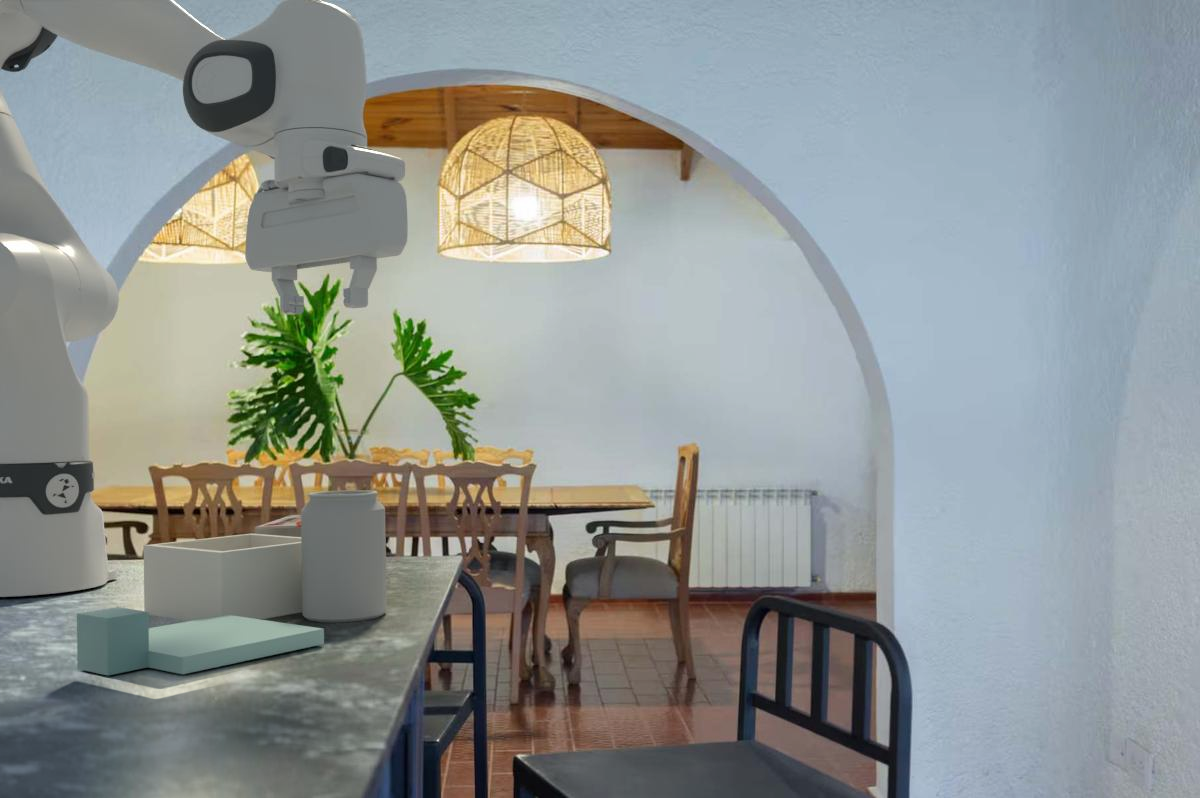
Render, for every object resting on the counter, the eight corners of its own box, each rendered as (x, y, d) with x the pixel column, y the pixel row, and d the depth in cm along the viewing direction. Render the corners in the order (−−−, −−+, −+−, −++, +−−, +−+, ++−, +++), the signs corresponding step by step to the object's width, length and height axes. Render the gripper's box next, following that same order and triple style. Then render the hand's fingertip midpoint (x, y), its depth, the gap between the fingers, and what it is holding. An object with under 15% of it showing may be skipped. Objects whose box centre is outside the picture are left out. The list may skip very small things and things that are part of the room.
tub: (144, 620, 109) (143, 545, 109) (252, 602, 118) (251, 533, 118) (221, 633, 102) (220, 552, 102) (330, 612, 111) (329, 539, 111)
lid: (47, 675, 87) (46, 608, 87) (227, 640, 99) (226, 581, 100) (142, 697, 79) (141, 624, 79) (324, 656, 92) (323, 593, 92)
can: (402, 617, 108) (401, 488, 108) (353, 632, 101) (351, 493, 101) (337, 613, 111) (335, 487, 111) (284, 626, 104) (283, 492, 104)
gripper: (228, 178, 117) (230, 315, 117) (366, 147, 105) (368, 301, 105) (280, 187, 122) (282, 319, 122) (417, 159, 110) (419, 305, 110)
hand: (323, 310), depth 113 cm, fingers open, 8 cm apart
